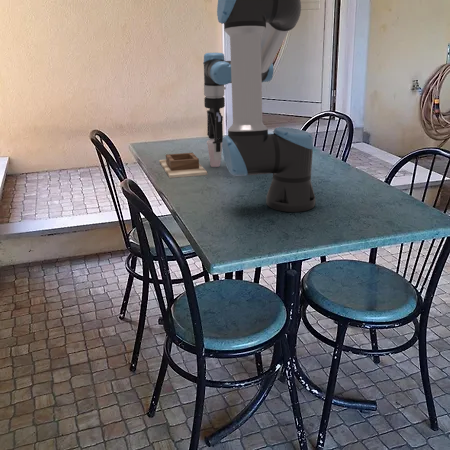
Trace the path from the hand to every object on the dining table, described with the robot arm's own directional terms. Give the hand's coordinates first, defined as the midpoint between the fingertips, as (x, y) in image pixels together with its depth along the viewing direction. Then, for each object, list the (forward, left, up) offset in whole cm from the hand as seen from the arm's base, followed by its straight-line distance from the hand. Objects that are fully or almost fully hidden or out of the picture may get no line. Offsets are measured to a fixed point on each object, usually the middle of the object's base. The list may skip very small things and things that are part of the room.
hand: (215, 157), depth 204 cm
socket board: (0, +13, -3) cm, 13 cm away
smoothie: (0, 0, -4) cm, 4 cm away
